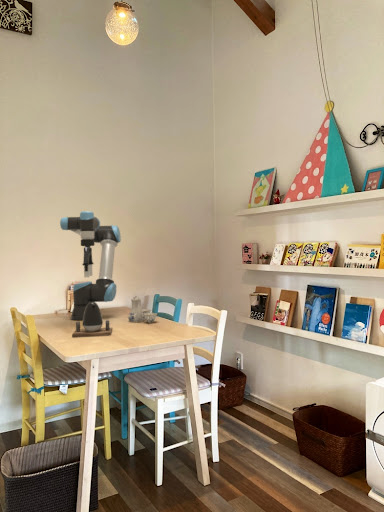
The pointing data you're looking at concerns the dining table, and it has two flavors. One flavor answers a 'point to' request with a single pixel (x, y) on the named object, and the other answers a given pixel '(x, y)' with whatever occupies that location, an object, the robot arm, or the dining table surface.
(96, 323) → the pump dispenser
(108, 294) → the robot arm
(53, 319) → the dining table surface
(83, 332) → the holder
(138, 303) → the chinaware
